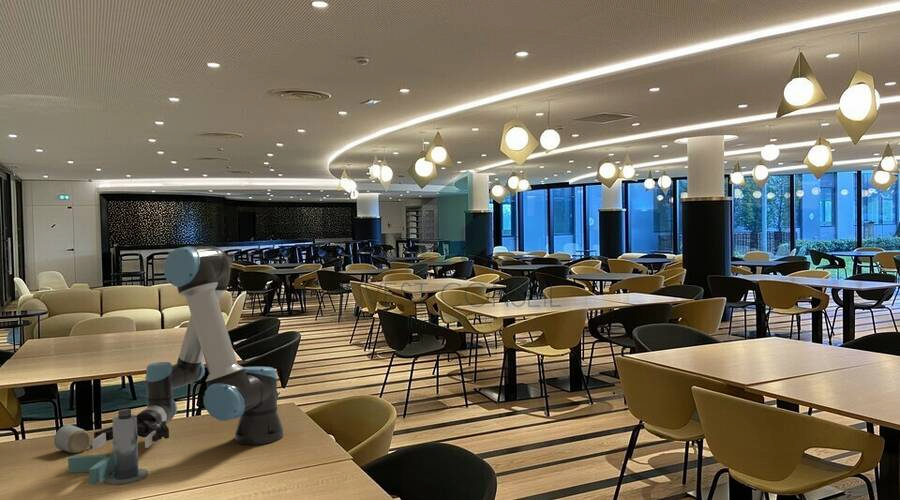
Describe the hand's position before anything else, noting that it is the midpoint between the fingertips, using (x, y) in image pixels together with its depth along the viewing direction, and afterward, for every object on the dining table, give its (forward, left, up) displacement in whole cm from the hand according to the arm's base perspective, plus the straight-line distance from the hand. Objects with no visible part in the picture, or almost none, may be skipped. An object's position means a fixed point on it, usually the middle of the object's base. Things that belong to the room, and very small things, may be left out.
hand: (120, 444), depth 176 cm
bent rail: (+12, -5, -10) cm, 17 cm away
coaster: (0, -3, -10) cm, 11 cm away
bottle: (0, -3, -10) cm, 10 cm away
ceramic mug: (+25, -30, -10) cm, 40 cm away
